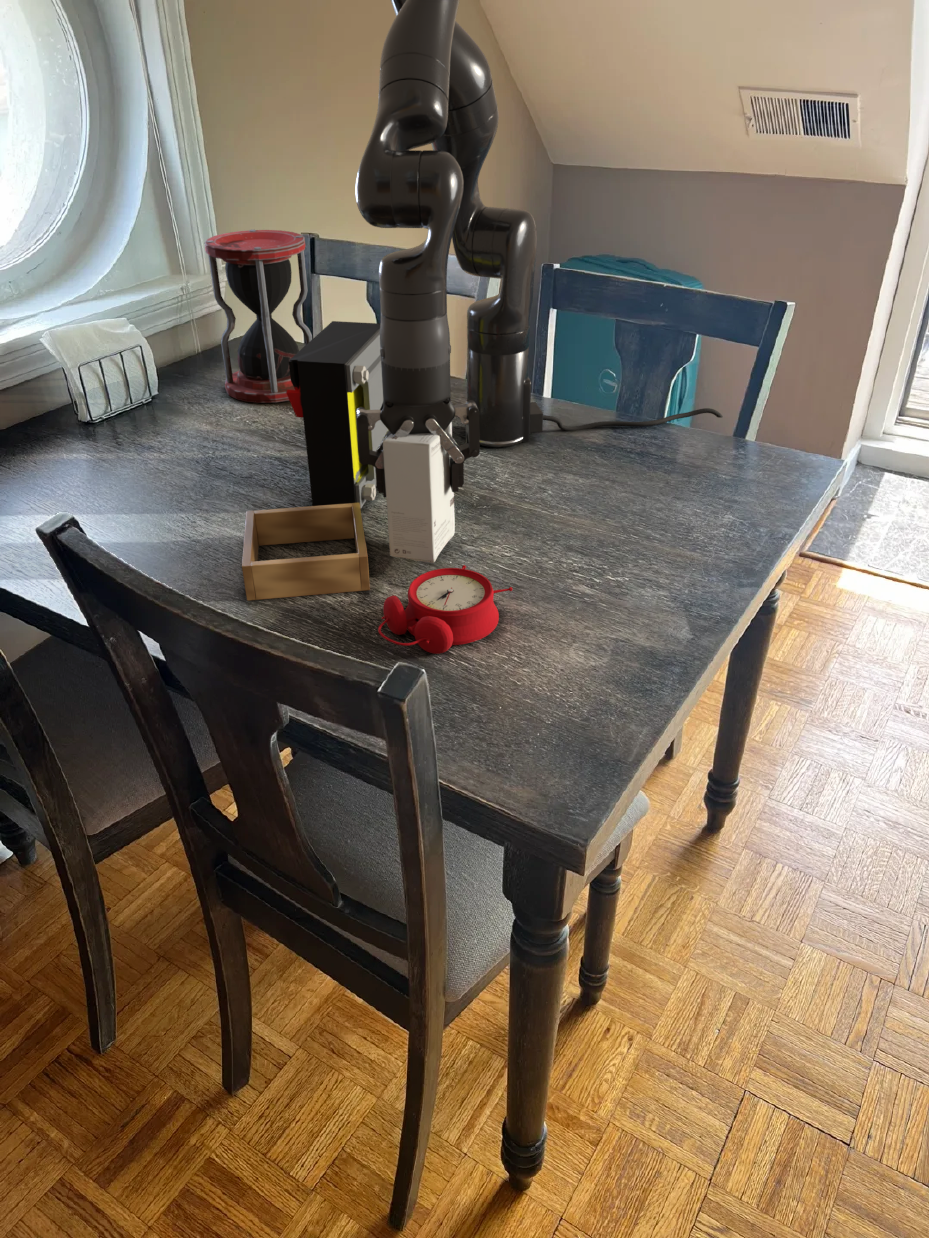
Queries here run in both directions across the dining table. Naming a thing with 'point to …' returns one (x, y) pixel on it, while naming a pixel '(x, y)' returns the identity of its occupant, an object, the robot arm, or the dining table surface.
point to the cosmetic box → (418, 495)
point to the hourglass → (259, 309)
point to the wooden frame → (306, 571)
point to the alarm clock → (444, 609)
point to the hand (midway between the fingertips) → (420, 492)
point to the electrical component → (338, 408)
